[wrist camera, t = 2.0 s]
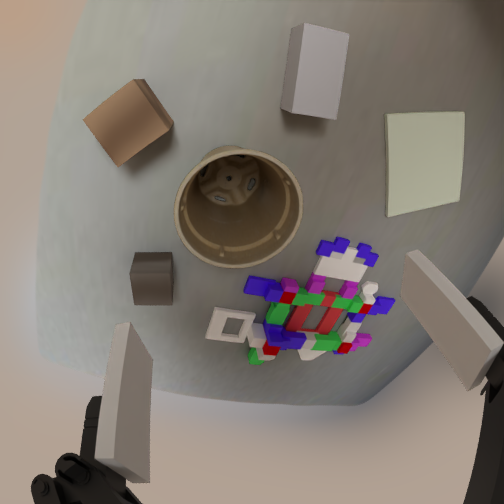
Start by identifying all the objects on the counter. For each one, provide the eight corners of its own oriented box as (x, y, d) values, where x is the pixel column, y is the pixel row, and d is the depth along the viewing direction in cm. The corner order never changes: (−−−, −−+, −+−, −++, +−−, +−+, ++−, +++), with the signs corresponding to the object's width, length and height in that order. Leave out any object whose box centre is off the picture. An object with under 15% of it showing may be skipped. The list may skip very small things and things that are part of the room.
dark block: (135, 252, 32) (129, 273, 29) (171, 251, 33) (169, 273, 30) (139, 282, 34) (134, 305, 31) (173, 282, 35) (172, 305, 32)
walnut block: (100, 112, 24) (82, 119, 20) (144, 79, 24) (133, 79, 19) (130, 152, 27) (118, 167, 23) (173, 121, 26) (168, 130, 22)
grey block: (279, 108, 27) (291, 112, 24) (290, 28, 23) (304, 22, 20) (319, 113, 28) (336, 120, 25) (331, 37, 24) (349, 34, 21)
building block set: (415, 256, 40) (432, 274, 36) (349, 358, 49) (359, 378, 46) (245, 211, 33) (252, 231, 29) (200, 347, 42) (202, 372, 38)
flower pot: (276, 216, 33) (301, 261, 26) (185, 226, 32) (183, 275, 24) (276, 126, 28) (305, 146, 21) (174, 134, 27) (165, 157, 20)
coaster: (384, 113, 28) (387, 114, 28) (461, 111, 29) (464, 112, 28) (385, 214, 35) (387, 217, 34) (456, 199, 35) (459, 200, 35)
